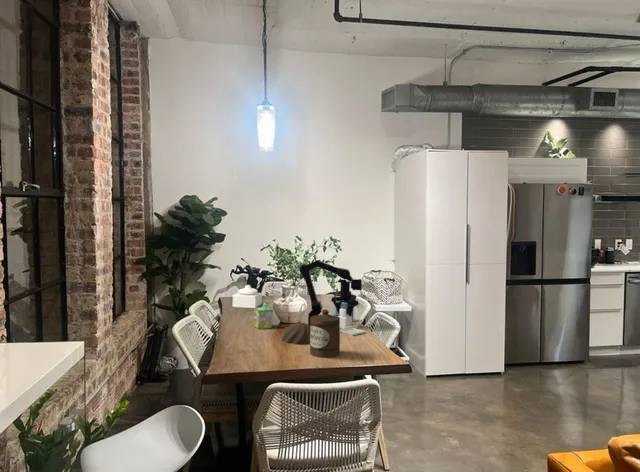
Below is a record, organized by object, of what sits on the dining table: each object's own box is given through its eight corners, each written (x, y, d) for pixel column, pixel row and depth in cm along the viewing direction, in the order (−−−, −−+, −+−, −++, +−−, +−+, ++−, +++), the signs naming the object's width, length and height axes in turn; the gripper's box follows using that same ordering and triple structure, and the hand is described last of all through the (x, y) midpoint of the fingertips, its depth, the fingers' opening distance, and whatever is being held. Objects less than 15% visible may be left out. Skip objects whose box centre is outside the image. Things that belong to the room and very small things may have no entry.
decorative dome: (310, 335, 283) (310, 317, 283) (323, 343, 265) (323, 325, 265) (278, 337, 276) (278, 319, 276) (289, 346, 258) (289, 327, 257)
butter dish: (255, 308, 362) (255, 286, 362) (231, 307, 365) (232, 285, 364) (261, 304, 379) (262, 283, 379) (239, 303, 382) (239, 282, 382)
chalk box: (253, 326, 302) (253, 302, 301) (267, 325, 306) (267, 301, 305) (258, 329, 293) (258, 305, 293) (272, 328, 298) (273, 304, 297)
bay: (343, 331, 294) (343, 327, 294) (329, 327, 304) (329, 323, 304) (359, 328, 303) (359, 325, 303) (344, 324, 312) (344, 321, 312)
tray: (353, 335, 282) (353, 333, 282) (340, 332, 291) (340, 330, 291) (366, 333, 290) (366, 331, 290) (353, 329, 298) (353, 327, 298)
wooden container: (303, 353, 245) (304, 309, 244) (324, 347, 255) (325, 306, 254) (324, 359, 234) (325, 313, 233) (345, 354, 245) (346, 310, 244)
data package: (335, 322, 319) (335, 303, 319) (333, 320, 324) (334, 302, 323) (353, 321, 321) (353, 303, 321) (351, 320, 326) (352, 302, 325)
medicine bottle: (342, 325, 308) (343, 307, 308) (352, 327, 304) (352, 308, 303) (336, 327, 303) (336, 308, 302) (345, 329, 298) (345, 310, 298)
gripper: (365, 290, 301) (364, 315, 301) (343, 286, 315) (343, 311, 315) (352, 292, 293) (351, 317, 294) (331, 288, 307) (330, 312, 308)
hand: (344, 314), depth 303 cm, fingers open, 9 cm apart
